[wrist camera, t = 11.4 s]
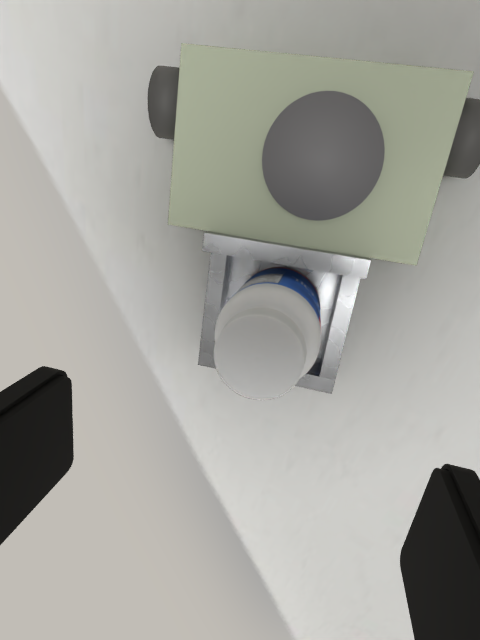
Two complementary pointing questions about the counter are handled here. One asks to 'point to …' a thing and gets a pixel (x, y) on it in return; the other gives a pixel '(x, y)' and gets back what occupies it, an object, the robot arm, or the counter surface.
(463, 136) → the green block with knobs
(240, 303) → the pill bottle
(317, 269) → the gray square tray
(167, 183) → the counter surface
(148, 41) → the counter surface
